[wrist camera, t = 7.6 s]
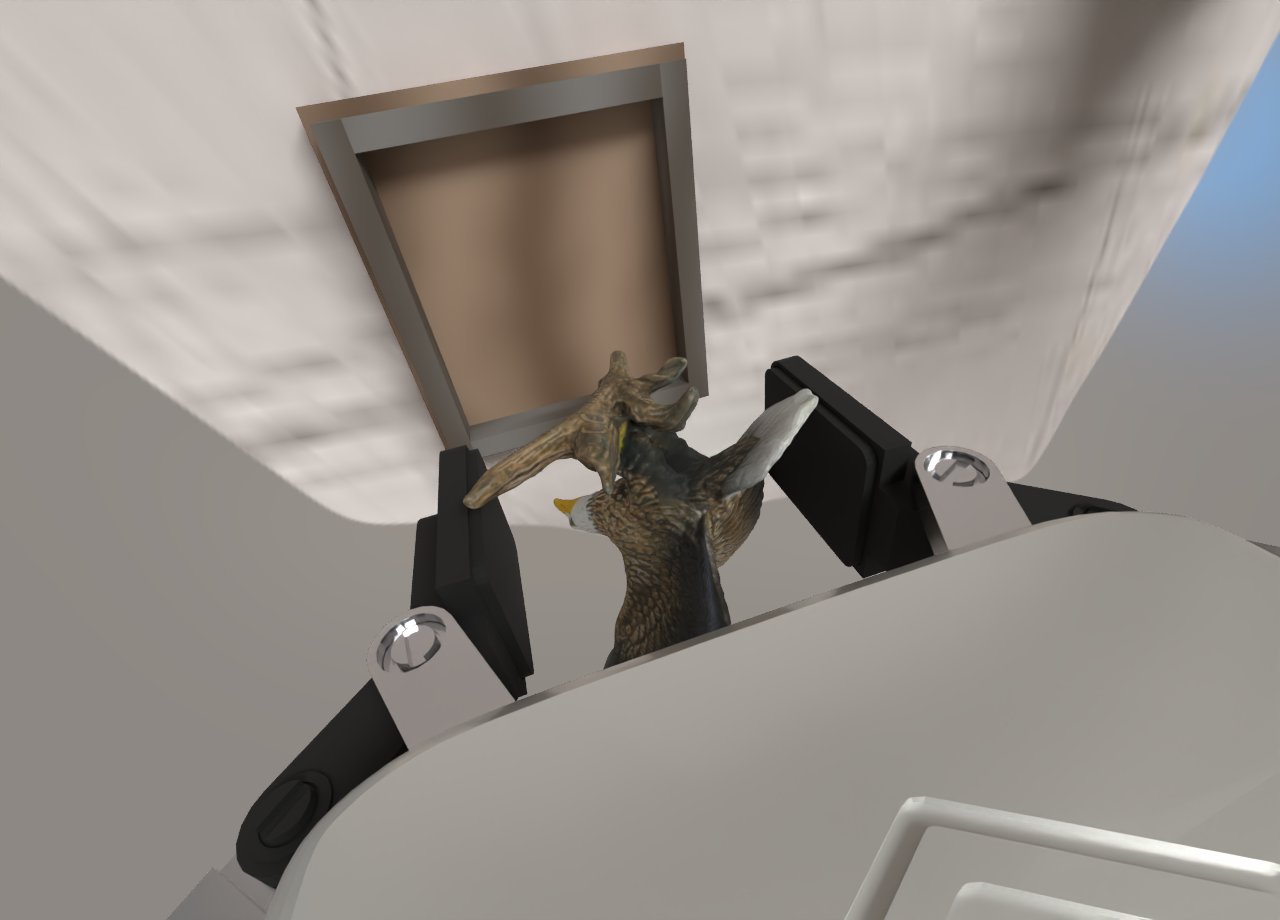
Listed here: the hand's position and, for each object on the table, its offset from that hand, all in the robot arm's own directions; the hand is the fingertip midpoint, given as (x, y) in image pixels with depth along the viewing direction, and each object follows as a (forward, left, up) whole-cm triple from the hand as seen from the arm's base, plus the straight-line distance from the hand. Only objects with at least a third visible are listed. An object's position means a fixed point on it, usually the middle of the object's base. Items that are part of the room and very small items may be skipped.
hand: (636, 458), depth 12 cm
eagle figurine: (0, +2, -2) cm, 3 cm away
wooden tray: (0, 0, -15) cm, 15 cm away
